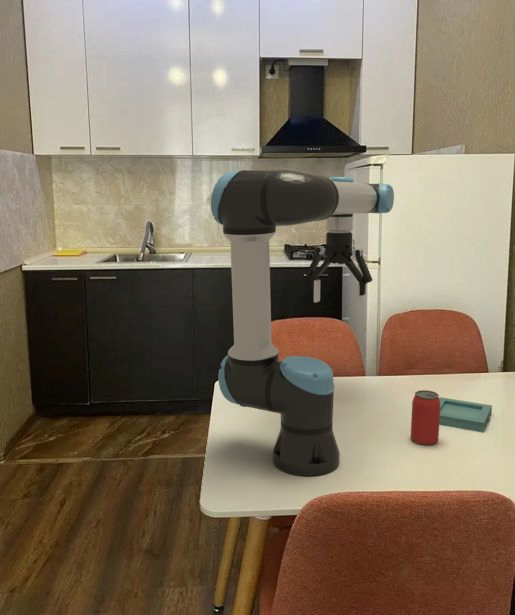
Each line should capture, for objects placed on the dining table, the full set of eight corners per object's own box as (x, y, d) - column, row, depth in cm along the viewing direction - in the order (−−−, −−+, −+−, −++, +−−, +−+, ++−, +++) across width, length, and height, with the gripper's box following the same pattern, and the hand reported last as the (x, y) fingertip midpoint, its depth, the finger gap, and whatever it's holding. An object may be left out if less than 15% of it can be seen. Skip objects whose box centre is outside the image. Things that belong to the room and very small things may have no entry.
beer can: (439, 447, 145) (442, 399, 143) (411, 444, 146) (413, 397, 144) (437, 436, 151) (439, 390, 149) (409, 434, 153) (412, 388, 150)
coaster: (483, 432, 154) (484, 422, 153) (427, 422, 160) (428, 413, 160) (491, 414, 166) (492, 405, 165) (439, 405, 172) (439, 397, 172)
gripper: (385, 232, 171) (382, 306, 176) (307, 229, 185) (305, 297, 189) (375, 234, 165) (372, 310, 169) (295, 230, 178) (294, 301, 182)
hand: (337, 304), depth 179 cm, fingers open, 13 cm apart
